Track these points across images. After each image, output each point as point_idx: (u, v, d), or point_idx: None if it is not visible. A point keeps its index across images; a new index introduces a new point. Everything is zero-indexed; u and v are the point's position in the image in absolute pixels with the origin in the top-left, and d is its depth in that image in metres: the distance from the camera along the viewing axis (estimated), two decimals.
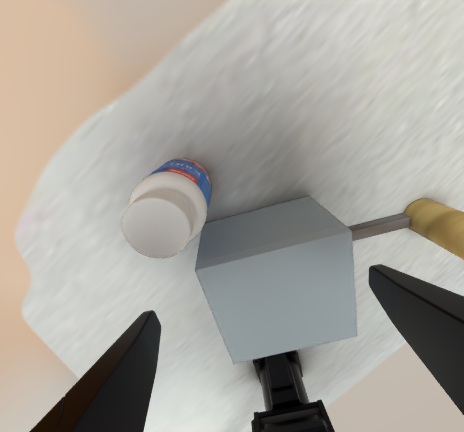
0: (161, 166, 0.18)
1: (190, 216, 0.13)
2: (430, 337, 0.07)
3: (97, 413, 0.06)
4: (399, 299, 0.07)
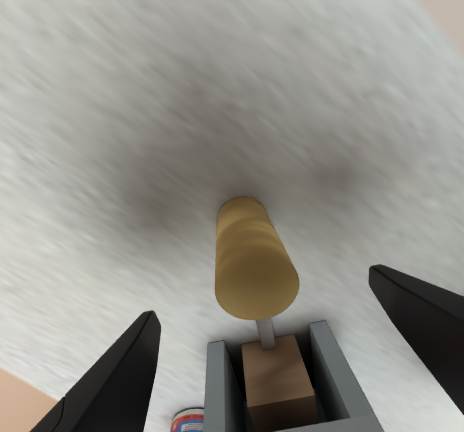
0: None
1: None
2: (430, 337, 0.07)
3: (97, 413, 0.06)
4: (399, 299, 0.07)
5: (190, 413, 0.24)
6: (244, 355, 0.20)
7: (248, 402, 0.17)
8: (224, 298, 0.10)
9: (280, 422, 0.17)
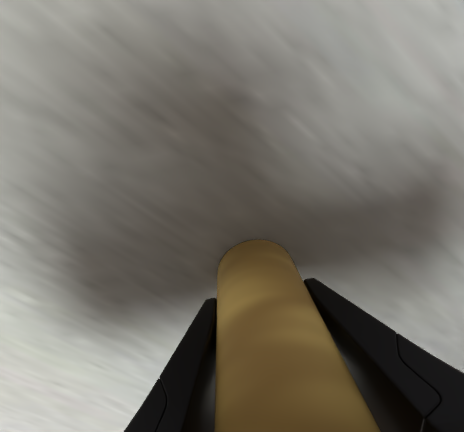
0: None
1: None
2: (341, 354, 0.07)
3: (198, 394, 0.05)
4: (320, 314, 0.07)
5: None
6: None
7: None
8: None
9: None
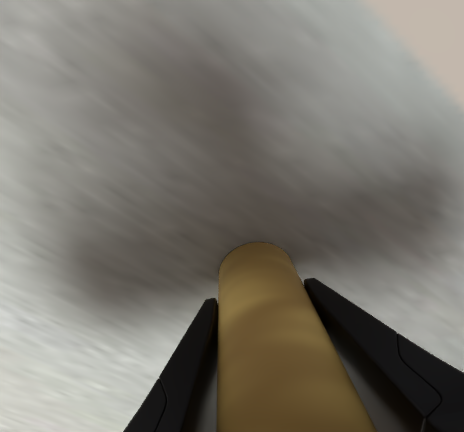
0: None
1: None
2: (341, 354, 0.07)
3: (197, 394, 0.06)
4: (321, 314, 0.07)
5: None
6: None
7: None
8: None
9: None
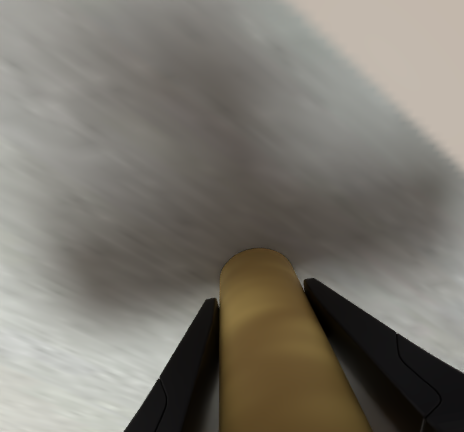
0: None
1: None
2: (341, 354, 0.07)
3: (198, 394, 0.05)
4: (320, 314, 0.07)
5: None
6: None
7: None
8: None
9: None
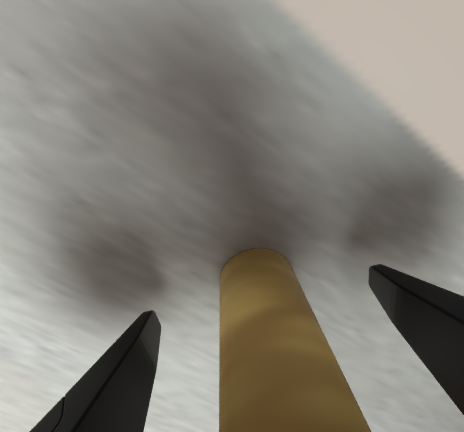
0: None
1: None
2: (430, 337, 0.07)
3: (97, 413, 0.06)
4: (399, 299, 0.07)
5: None
6: None
7: None
8: None
9: None
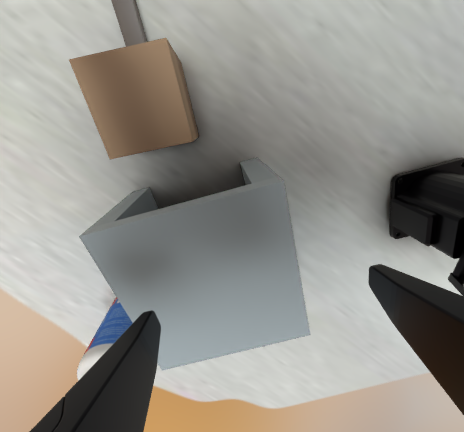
0: None
1: None
2: (430, 337, 0.07)
3: (97, 413, 0.06)
4: (399, 299, 0.07)
5: None
6: None
7: None
8: None
9: (130, 111, 0.12)
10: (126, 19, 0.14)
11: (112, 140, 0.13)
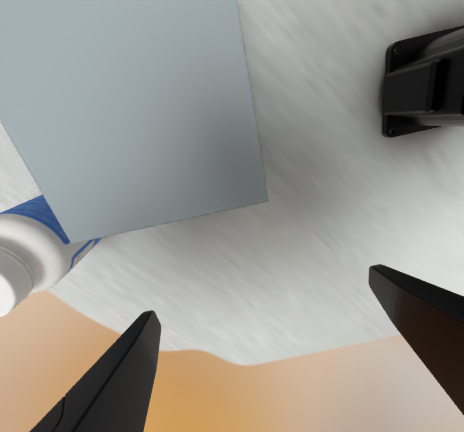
0: None
1: None
2: (430, 337, 0.07)
3: (97, 413, 0.06)
4: (399, 299, 0.07)
5: None
6: None
7: None
8: None
9: None
10: None
11: None
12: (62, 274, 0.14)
